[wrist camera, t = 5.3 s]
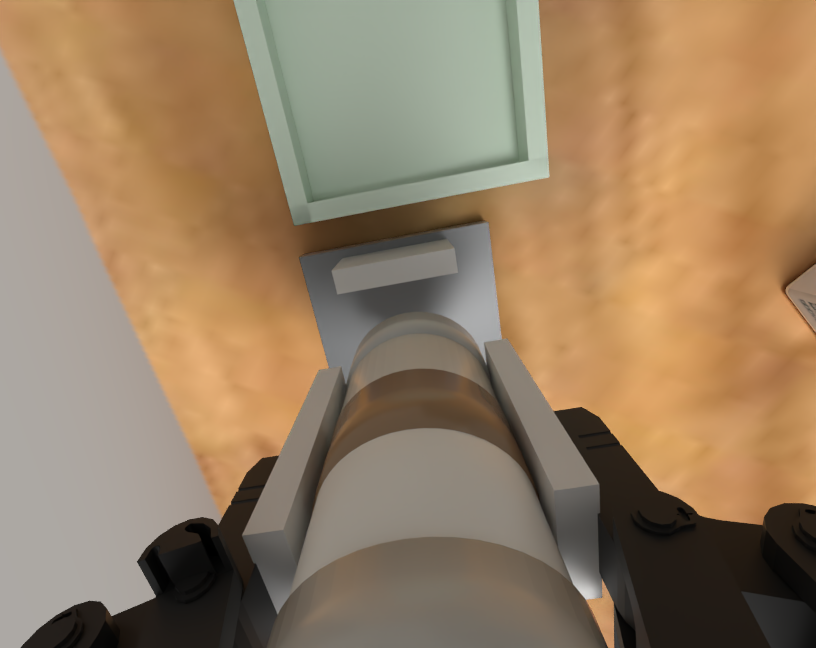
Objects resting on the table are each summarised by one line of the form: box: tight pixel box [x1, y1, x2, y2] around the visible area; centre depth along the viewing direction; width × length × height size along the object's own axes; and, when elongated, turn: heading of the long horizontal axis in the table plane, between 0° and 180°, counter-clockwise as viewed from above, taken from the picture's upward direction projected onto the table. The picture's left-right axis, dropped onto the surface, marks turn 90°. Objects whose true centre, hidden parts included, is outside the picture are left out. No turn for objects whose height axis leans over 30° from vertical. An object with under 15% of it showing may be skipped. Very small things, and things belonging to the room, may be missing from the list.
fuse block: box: [299, 221, 502, 383], centre depth 21 cm, size 18×9×4 cm, turn 10°
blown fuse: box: [267, 312, 608, 648], centre depth 9 cm, size 5×5×11 cm
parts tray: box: [234, 0, 549, 226], centre depth 16 cm, size 12×11×2 cm
